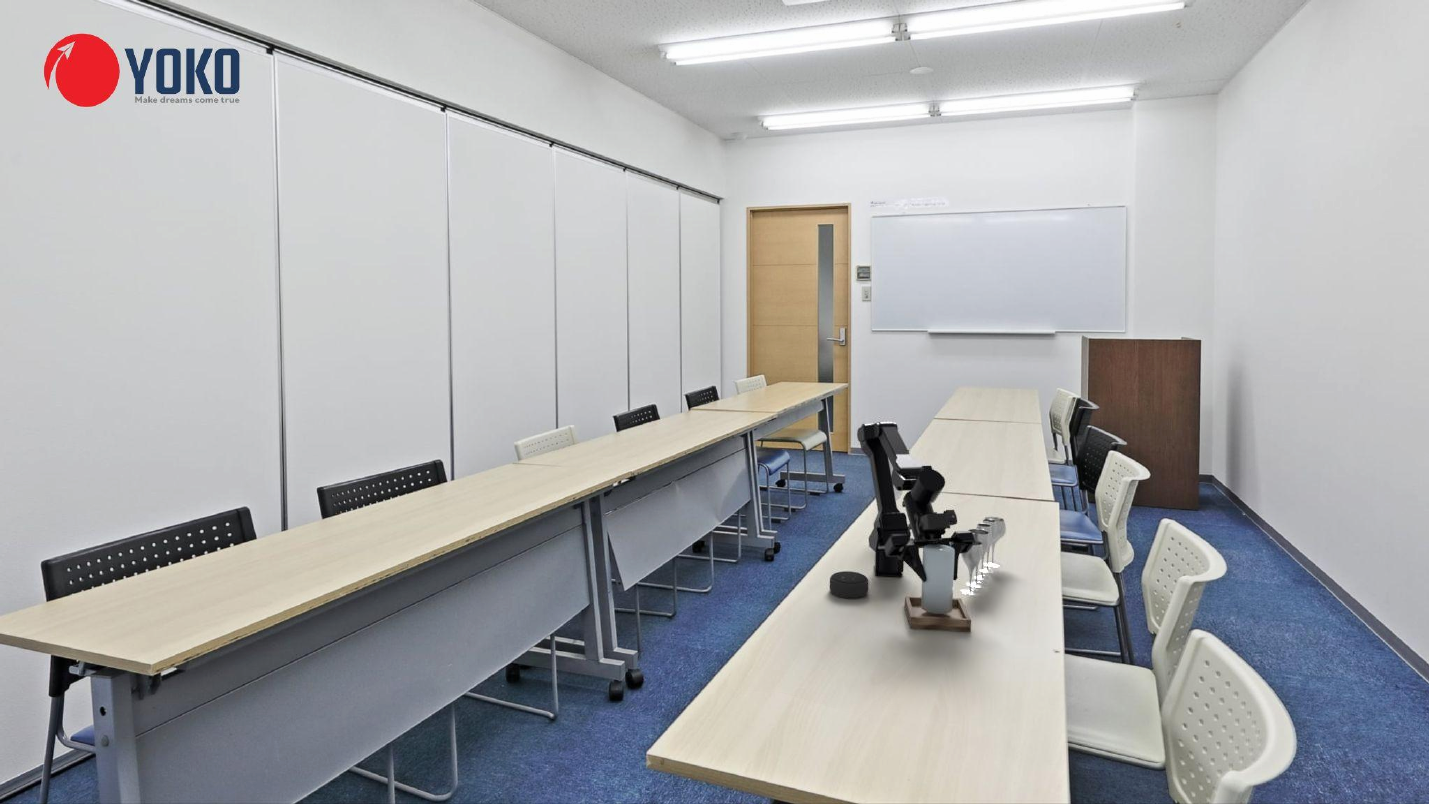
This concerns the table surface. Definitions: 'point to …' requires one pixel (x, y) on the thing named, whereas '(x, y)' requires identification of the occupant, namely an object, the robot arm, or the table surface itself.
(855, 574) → the smart speaker
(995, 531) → the goblet set
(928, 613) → the tray
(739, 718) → the table surface
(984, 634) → the table surface
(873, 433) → the robot arm
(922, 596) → the domed blue cylinder
